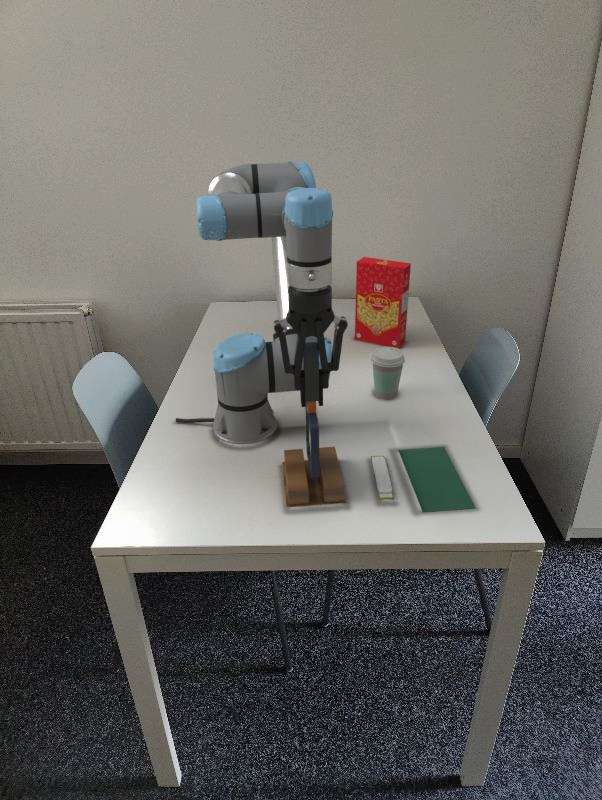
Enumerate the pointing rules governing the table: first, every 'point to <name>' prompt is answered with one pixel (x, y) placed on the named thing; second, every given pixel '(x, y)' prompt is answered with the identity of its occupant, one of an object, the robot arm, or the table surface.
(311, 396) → the racket
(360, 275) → the food packaging
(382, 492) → the harmonica
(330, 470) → the stand
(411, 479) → the mat
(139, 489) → the table surface
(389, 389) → the coffee cup
